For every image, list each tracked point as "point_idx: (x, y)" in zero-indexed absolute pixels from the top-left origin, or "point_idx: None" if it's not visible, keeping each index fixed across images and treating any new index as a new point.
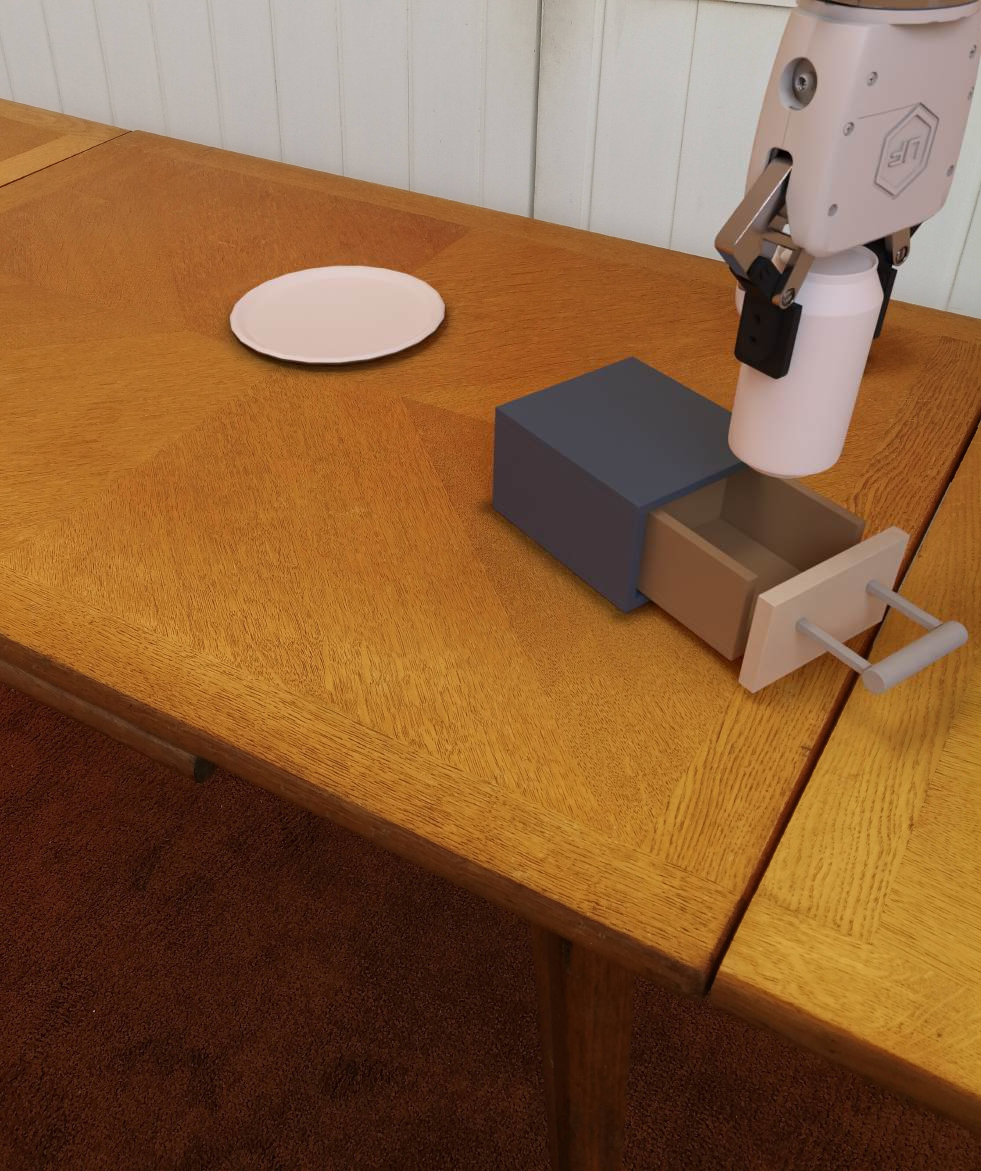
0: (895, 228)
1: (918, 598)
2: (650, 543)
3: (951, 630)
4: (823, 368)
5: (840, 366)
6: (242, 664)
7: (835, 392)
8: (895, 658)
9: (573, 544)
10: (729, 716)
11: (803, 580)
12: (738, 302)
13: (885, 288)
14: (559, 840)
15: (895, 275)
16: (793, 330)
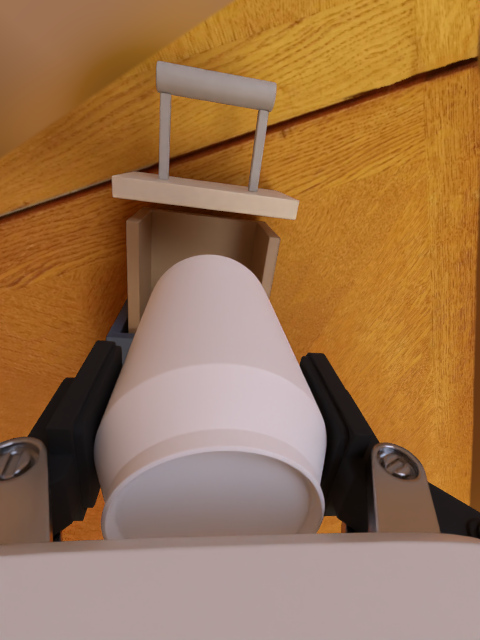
0: (184, 563)
1: (72, 171)
2: None
3: (172, 74)
4: (274, 329)
5: (250, 317)
6: (430, 391)
7: (244, 297)
8: (247, 93)
9: None
10: (294, 192)
11: (251, 205)
12: None
13: (85, 402)
14: (445, 196)
15: (53, 418)
16: (345, 401)
